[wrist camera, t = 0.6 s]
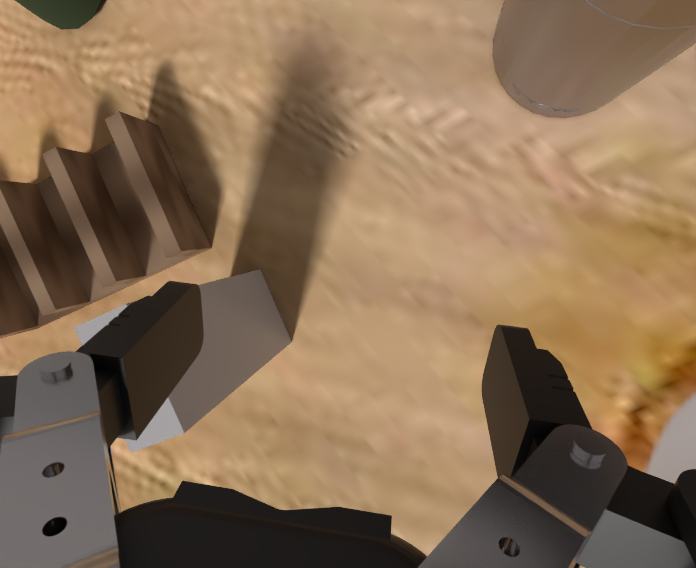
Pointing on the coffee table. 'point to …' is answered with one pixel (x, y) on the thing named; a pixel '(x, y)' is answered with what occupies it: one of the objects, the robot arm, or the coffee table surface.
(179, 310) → the robot arm
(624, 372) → the coffee table surface
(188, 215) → the drying rack
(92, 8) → the character mug
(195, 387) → the clay strip
